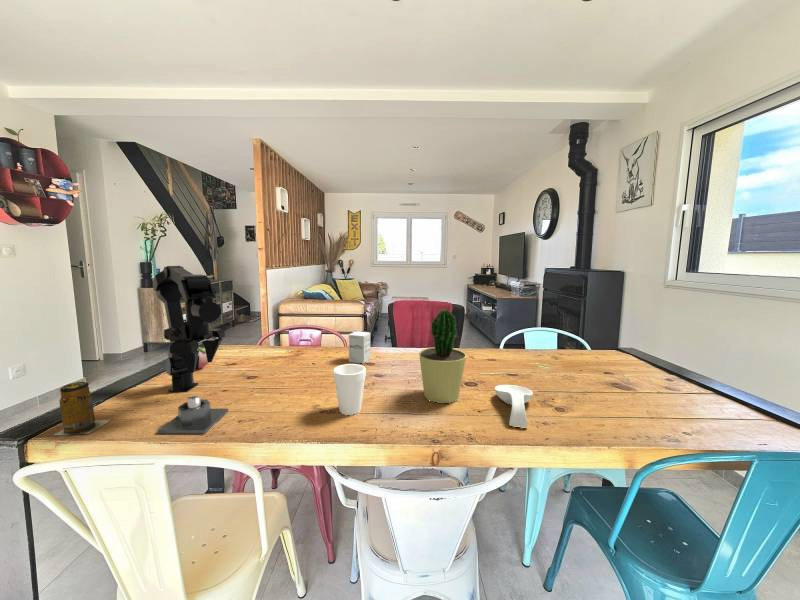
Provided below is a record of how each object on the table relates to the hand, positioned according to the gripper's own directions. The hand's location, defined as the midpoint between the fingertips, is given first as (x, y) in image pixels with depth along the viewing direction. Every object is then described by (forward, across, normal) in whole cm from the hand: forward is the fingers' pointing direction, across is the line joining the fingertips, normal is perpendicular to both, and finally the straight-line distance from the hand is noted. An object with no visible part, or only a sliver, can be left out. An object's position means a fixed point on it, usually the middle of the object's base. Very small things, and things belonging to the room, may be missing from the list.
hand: (201, 367), depth 99 cm
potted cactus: (+12, -6, +75) cm, 76 cm away
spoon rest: (+12, +2, +97) cm, 97 cm away
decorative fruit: (+12, -31, -20) cm, 39 cm away
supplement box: (+12, -42, +44) cm, 62 cm away
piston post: (+12, +11, +4) cm, 17 cm away
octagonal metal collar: (+11, +11, +4) cm, 16 cm away
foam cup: (+12, +4, +46) cm, 48 cm away
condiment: (+12, +14, -24) cm, 30 cm away
